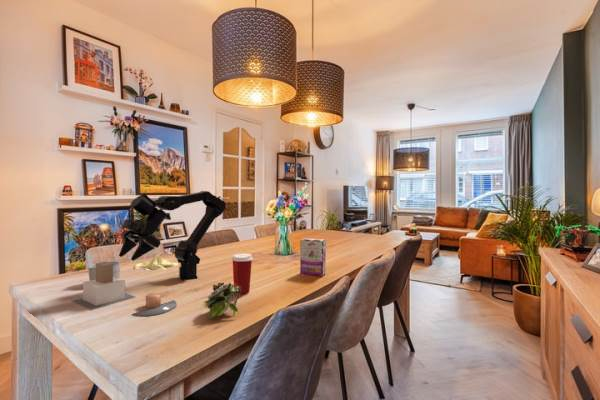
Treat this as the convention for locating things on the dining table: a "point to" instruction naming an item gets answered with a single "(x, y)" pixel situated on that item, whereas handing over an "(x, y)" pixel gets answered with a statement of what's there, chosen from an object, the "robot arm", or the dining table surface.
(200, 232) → the robot arm
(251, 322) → the dining table surface
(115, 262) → the teacup
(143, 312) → the grey disc
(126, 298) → the mat
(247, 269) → the paper cup
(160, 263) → the cloth
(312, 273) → the candy bar box
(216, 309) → the green leafy cluster
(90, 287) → the white brown stepped block
